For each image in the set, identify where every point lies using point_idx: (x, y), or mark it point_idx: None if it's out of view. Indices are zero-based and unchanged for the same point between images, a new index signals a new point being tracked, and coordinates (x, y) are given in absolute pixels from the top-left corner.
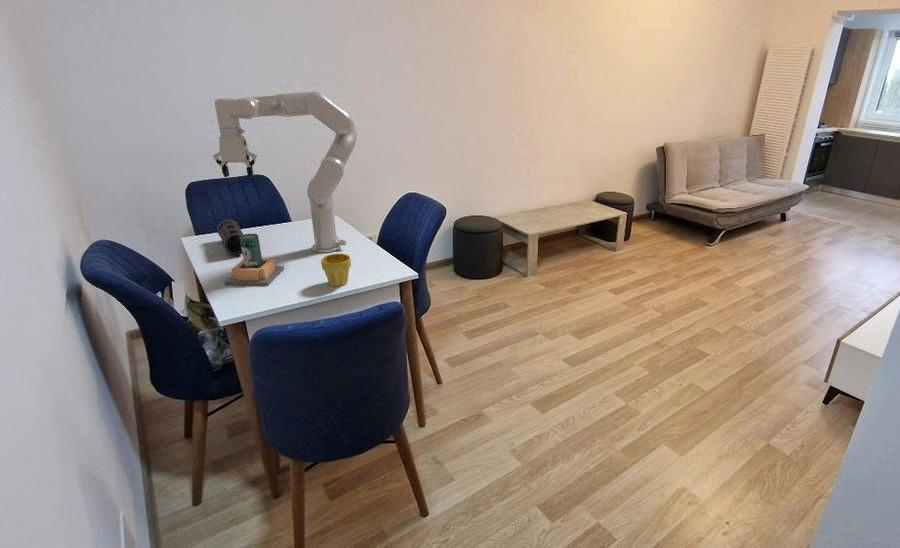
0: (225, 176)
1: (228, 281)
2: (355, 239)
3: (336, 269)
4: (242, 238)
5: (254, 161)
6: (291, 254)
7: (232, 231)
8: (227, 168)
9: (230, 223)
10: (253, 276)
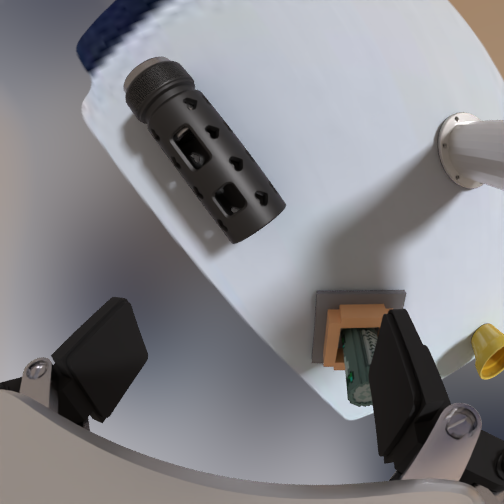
0: (143, 358)
1: (318, 360)
2: (500, 92)
3: (489, 370)
4: (358, 405)
5: (498, 477)
6: (400, 193)
7: (220, 188)
8: (89, 359)
9: (167, 108)
10: None
